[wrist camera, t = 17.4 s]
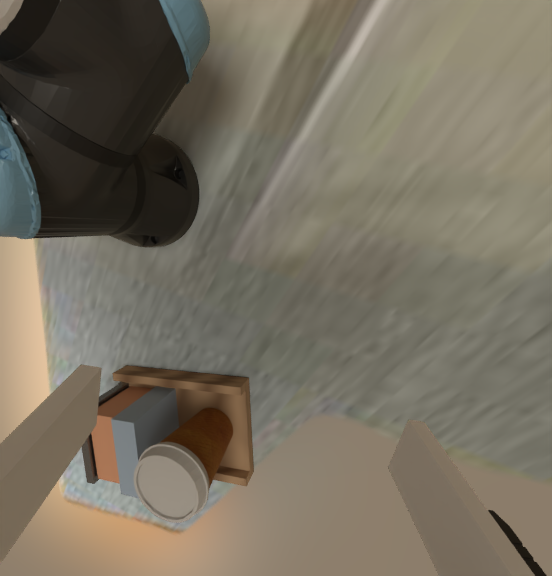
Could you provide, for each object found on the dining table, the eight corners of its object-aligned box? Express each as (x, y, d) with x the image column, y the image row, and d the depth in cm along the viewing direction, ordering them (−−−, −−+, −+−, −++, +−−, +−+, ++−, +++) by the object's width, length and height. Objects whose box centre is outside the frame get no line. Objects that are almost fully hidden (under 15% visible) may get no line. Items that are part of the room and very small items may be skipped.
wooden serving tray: (248, 377, 45) (240, 387, 42) (253, 471, 48) (246, 486, 45) (126, 365, 51) (112, 373, 48) (137, 449, 54) (124, 461, 51)
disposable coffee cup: (252, 417, 45) (213, 481, 33) (231, 466, 47) (188, 541, 36) (196, 386, 46) (141, 436, 35) (178, 435, 49) (122, 496, 38)
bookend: (128, 382, 50) (82, 412, 42) (136, 444, 52) (93, 483, 44) (120, 381, 50) (73, 410, 42) (128, 443, 52) (84, 481, 44)
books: (175, 388, 47) (133, 422, 39) (181, 452, 49) (143, 499, 41) (130, 383, 50) (81, 414, 41) (137, 444, 52) (92, 487, 43)
